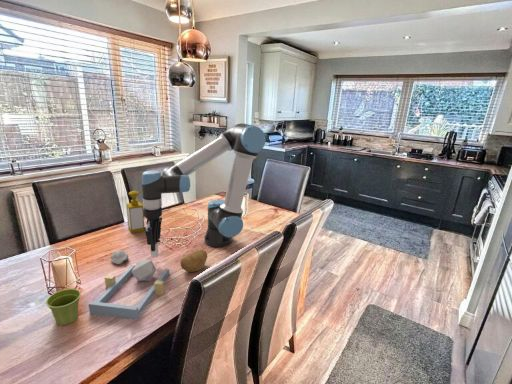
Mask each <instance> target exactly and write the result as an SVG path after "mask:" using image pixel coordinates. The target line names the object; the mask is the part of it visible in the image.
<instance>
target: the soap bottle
mask: <svg viewBox="0 0 512 384" xmlns="http://www.w3.org/2000/svg"><path fill="white" fill-rule="evenodd" d="M139 193H140V194H141V191H137V190H131V191H129V192H128V195H129V197H131V198H132V199H130V202H129V203H126V214H127V225H128V230H129V232H130V234H131V235H133V234H137V233H138V234H139V233H141V232H142V233H144V232H145V231H144V227H145V217H144V214H143V208H144V207H143V203H141V201H139V200H138V199H136V197H138V195H140V194H139Z"/></svg>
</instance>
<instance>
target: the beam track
mask: <svg viewBox="0 0 512 384" xmlns="http://www.w3.org/2000/svg"><path fill="white" fill-rule="evenodd" d="M135 265H136V264H131V265H130V266H129V267H128V268H126V270H125V271H124V272H123V273H122V274H121V275H120V276H119V277H118V278H116V275H113V274H112V275H111V274H107V275H106V276H105V277H104V283H105V289H106V290H105V291H104V292H103V293H101V295H100V296H99V297H98V298H97V299H96V300H95V301H93V300H91V301H90V302H89V303H88V309H89V314H91V315H96V316H98V315H99V316H106V317H113V318H122V319H127V320H128V319H130V320H138V319H139V317H140V315H141V314H142V313H143V311H144V310H145V309H146V307H147V305H148V304H149V303H150V302H151V300H152V299H153V298H154V296H155V295H156V296H163V294H164V293H165V283H164V282H165V280H166V279H167V278H168V277H169V275H170V269H169V268H165V269H164V270H163V272H162V273H161V274H160V275H159V277H158V278H157V279H156V280H155V281H154V282H153V285H152V286H151V287H150V289H148V291H147V292H146V294H145V295H144V296H143V297H142V299H141V300H140V301H139V303H138V305H137V306H133V305H125V304H118V303H110V302H107V301H108V300H109V299H110V298H111V297H112V296H113V295H114V294H115V293H116V292H117V290H118V289H119V288H120V287H121V286H122V285H123V284H124V283H126V281H127V280H128V279H129V278H130V277H131V275H133V273H132V272H131V271H132V270H133V268H134V267H135Z"/></svg>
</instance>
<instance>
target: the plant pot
mask: <svg viewBox="0 0 512 384" xmlns="http://www.w3.org/2000/svg"><path fill="white" fill-rule="evenodd" d="M81 294H82V293H81V291H80V290H79V289H77V288H65V289H60V290H58V291H56V292H54V293H53V294H51V295H49V297H47V298H46V301H45V304H46V306H47V307H48V308H49V309H50V311H51V314H52V315H53V318H54V321H55V322H56V325H58V326H64V325H66V326H67V325H70V324H72V323H74V322H75V321H76V320H78V316H79V301H80V298H81V296H82V295H81Z"/></svg>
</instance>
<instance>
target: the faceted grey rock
mask: <svg viewBox="0 0 512 384" xmlns="http://www.w3.org/2000/svg"><path fill="white" fill-rule="evenodd" d="M134 265H135V267H134V268H133V270H132V271H131V272H132V275H133V277H134V279H136V281H138V282H139V281H142V282H150V281H151V280H152V279H153V277H154V275H155V273H156V271H157V267H156V266H155V263H154V262H153V260H150V259H149V260H148V259H138V260H137V262H136V263H135V264H134Z"/></svg>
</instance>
